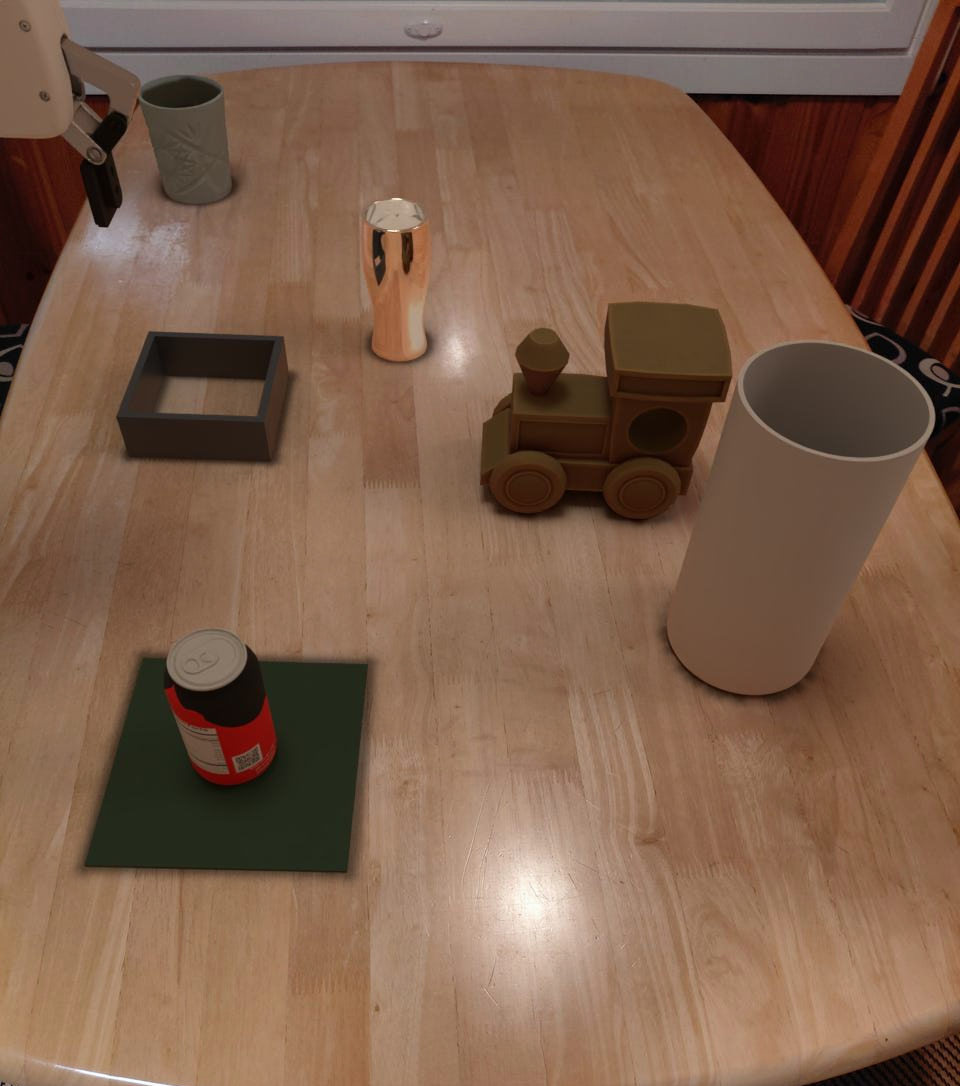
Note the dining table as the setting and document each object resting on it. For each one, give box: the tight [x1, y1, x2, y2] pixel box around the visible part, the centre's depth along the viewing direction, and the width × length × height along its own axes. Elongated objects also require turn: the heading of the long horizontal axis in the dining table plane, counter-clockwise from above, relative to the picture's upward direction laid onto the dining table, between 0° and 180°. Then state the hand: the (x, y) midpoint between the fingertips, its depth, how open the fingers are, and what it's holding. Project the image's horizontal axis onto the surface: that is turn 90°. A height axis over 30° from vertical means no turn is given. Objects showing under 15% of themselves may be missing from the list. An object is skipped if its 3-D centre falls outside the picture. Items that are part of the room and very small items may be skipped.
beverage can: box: [163, 626, 277, 785], centre depth 67 cm, size 6×6×12 cm
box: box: [115, 330, 290, 463], centre depth 95 cm, size 14×14×5 cm
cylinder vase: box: [666, 339, 936, 696], centre depth 72 cm, size 12×12×25 cm
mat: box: [84, 657, 368, 873], centre depth 72 cm, size 18×18×1 cm
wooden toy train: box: [479, 300, 733, 520], centre depth 86 cm, size 20×11×17 cm, turn 88°
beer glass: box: [360, 197, 432, 362], centre depth 100 cm, size 7×7×15 cm
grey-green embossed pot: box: [137, 74, 233, 205], centre depth 121 cm, size 10×10×12 cm
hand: (32, 213), depth 62 cm, fingers open, 9 cm apart
